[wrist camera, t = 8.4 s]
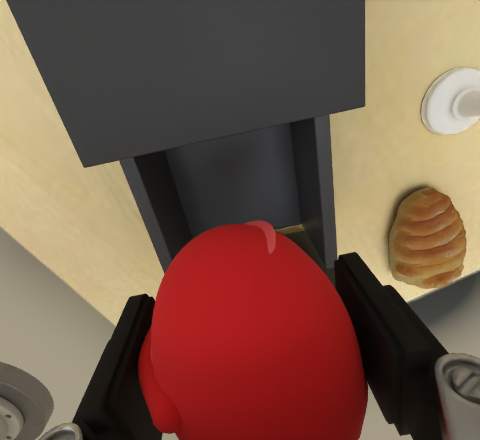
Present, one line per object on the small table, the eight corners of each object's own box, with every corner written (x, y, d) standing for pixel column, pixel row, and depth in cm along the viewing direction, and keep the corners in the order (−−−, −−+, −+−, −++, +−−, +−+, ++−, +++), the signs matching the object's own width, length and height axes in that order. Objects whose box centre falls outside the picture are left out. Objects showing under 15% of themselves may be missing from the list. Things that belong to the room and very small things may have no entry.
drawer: (320, 275, 28) (352, 339, 21) (199, 298, 28) (191, 368, 22) (302, 80, 20) (344, 78, 13) (136, 117, 21) (91, 135, 14)
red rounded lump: (124, 233, 10) (1, 419, 4) (286, 169, 9) (380, 295, 4) (216, 371, 13) (212, 571, 8) (340, 332, 12) (430, 522, 7)
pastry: (376, 199, 26) (400, 217, 22) (451, 173, 25) (488, 188, 21) (387, 276, 30) (409, 301, 26) (452, 256, 29) (483, 279, 25)
